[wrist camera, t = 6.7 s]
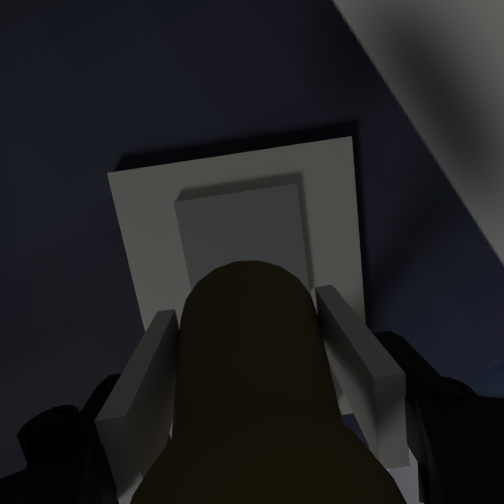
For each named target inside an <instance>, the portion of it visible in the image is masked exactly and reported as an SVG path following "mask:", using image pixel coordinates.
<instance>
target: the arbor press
mask: <svg viewBox="0 0 504 504" xmlns="http://www.w3.org/2000/svg"><path fill="white" fill-rule="evenodd" d="M107 175H108V179H109V183H110V187H111V191H112V196H113V200H114V204H115V208H116V212H117V216H118V221H119V225H120V229H121V233H122V237H123V241H124V245H125V250H126V254H127V258H128V262H129V266H130V270H131V274H132V279H133V283H134V287H135V291H136V295H137V299H138V304H139V308H140V312H141V316H142V320H143V324H144V328H145V332H146V331H147V329H148V327H149V325H150V324H151V322H152V320H153V318H154V317H155V315H156V313H157V311H164V310H170V309H175V311H176V315H177V320H178V325H179V329H180V320H181V316H182V312H183V308H184V304H185V301H186V299H187V297H188V296H189V294H190V293H191V291H192V290H193V288H194V287H195V285H196V284H197V282H198V281H200V280H201V279H202V278H204V277H205V276H206V275H207V274H209V273H210V272H211V271H213V270H214V269H215V268H218V267H221V266H224V265H227V264H229V263H232V262H235V261H251V260H260V261H263V262H267V263H271V264H274V265H278V266H281V267H282V268H284V269H285V270H287V271H288V272H290V273H291V274H293V275H294V276H296V277H298V279H299V280H300V281H301V282H302V284H303V285H304V286H305V287H306V289H307V290H308V291H309V293H310V294H311V297H312V299H313V302H314V305H315V308H316V311H317V304H316V295H315V287H320V286H326V285H333V286H334V287H335V289H336V290H337V291H338V292H339V294H340V295H341V296H342V297H343V298H344V300H345V301H346V302H347V303H348V304H349V306H350V307H351V308H352V309H353V310H354V312H355V313H356V314H357V315H358V317H359V318H360V319H361V320H362V321H363V323H364V324H365V325H366V322H365V308H364V295H363V281H362V267H361V254H360V240H359V227H358V213H357V200H356V186H355V173H354V159H353V146H352V136H349V137H343V138H336V139H330V140H323V141H316V142H310V143H303V144H296V145H290V146H283V147H276V148H270V149H263V150H257V151H250V152H243V153H237V154H230V155H223V156H217V157H210V158H204V159H197V160H190V161H184V162H177V163H170V164H164V165H157V166H151V167H144V168H137V169H131V170H124V171H117V172H111V173H107ZM317 315H318V313H317ZM328 361H329V360H328ZM329 366H330V370H331V374H332V378H333V383H334V387H335V391H336V395H337V400H338V404H339V408H340V412H341V417H342V421H343V425H344V418H343V416H342V415H344V414H351V413H353V411H352V409H351V407H350V405H349V402H348V400H347V398H346V396H345V394H344V392H343V390H342V388H341V386H340V384H339V381H338V379H337V377H336V375H335V373H334V371H333V369H332V367H331V365H330V362H329ZM172 425H173V422H172ZM172 425H171V429H170V436H171V438H172Z"/></svg>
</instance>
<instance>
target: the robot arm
mask: <svg viewBox="0 0 504 504" xmlns="http://www.w3.org/2000/svg"><path fill="white" fill-rule="evenodd" d="M315 295H316V304H317V313H318V319H319V323H320V327H321V332H322V336H323V340H324V344H325V349H326V353H327V357H328V360H329V362H330V365H331V367H332V369H333V371H334V373H335V375H336V377H337V379H338V381H339V384H340V386H341V388H342V390H343V392H344V394H345V396H346V398H347V400H348V402H349V405H350V407H351V409H352V411H353V413H354V415H355V417H356V419H357V421H358V423H359V426H360V428H361V430H362V432H363V434H364V436H365V438H366V440H367V442H368V445H369V447H370V449H371V451H372V453H373V455H374V456H375V457H376V458H377V459H378V461H379V462H380V463H381V464H382V465H383V467H384V468H385V469H390V468H397V467H403V466H409V448H410V450H411V452H412V453H413V455H414V457H415V458H416V460H417V461H418V480H419V502H422V503H424V504H504V398H494V397H484V396H477V395H476V393H475V392H474V391H473V390H472V389H471V388H470V387H469V386H468V385H466V384H464V383H463V382H461V381H458V380H455V379H452V378H449V377H441V376H440V375H439V374H438V373H437V371H436V370H435V369H434V368H433V367H432V366H431V365H430V364H429V363H428V362H427V361H426V360H425V359H424V358H423V357H422V356H421V355H420V354H418V352H417V351H416V350H415V349H414V348H413V347H411V345H410V344H409V343H408V342H407V341H406V340H405V339H404V338H403V337H401V336H399V335H397V334H395V333H393V332H391V331H386V332H380V333H372V332H371V331H370V330H369V329H368V327H367V326H366V325H365V324H364V323H363V321H362V320H361V319H360V318H359V317H358V315H357V314H356V313H355V312H354V310H353V309H352V308H351V307H350V306H349V304H348V303H347V302H346V301H345V300H344V298H343V297H342V296H341V295H340V294H339V292H338V291H337V290H336V289H335V287H334V286H333V285H326V286H320V287H315ZM179 333H180V329H179V325H178V320H177V315H176V311H175V309H170V310H164V311H157V313H156V315H155V317H154V318H153V320H152V322H151V324H150V325H149V327H148V329H147V331H146V332H145V334H144V336H143V338H142V339H141V341H140V343H139V345H138V346H137V348H136V350H135V351H134V353H133V355H132V357H131V358H130V360H129V362H128V364H127V365H126V367H125V369H124V371H123V372H122V374H115V375H109V376H108V377H107V378H106V379H105V380H104V381H102V382H101V383H100V384H99V385H98V386H97V387H96V389H95V390H94V392H93V393H92V395H91V398H89V399H88V401H87V402H86V404H85V407H84V408H83V409H82V410H81V412H80V413H79V410H78V408H76V407H75V406H73V405H63V406H58V407H54V408H52V409H49V410H47V411H44V412H42V413H40V414H39V415H37V416H35V417H34V418H32V419H31V420H29V421H28V422H27V423H26V424H25V425H24V426H22V428H21V429H20V431H19V432H18V433H17V437H18V440H19V443H20V445H21V448H22V451H23V453H24V456H25V459H26V462H27V467H26V469H25V470H22V471H20V472H17V473H15V474H12V475H10V476H7V477H4V478H2V479H0V504H112V503H113V500H114V497H115V495H117V498H118V501H119V504H130V502H131V499H132V496H133V494H134V492H135V491H136V489H137V488H138V486H139V484H140V483H141V481H142V480H143V478H144V477H145V475H146V473H147V472H148V470H149V469H150V467H151V466H152V465H153V463H154V462H155V460H156V459H157V458H158V456H159V455H160V454H161V452H162V451H163V449H164V448H165V447H166V444H167V441H168V437H169V433H170V429H171V425H172V422H173V412H174V399H175V386H176V373H177V360H178V346H179Z"/></svg>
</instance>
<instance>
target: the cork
mask: <svg viewBox="0 0 504 504" xmlns="http://www.w3.org/2000/svg"><path fill="white" fill-rule="evenodd" d="M130 504H407V503H406V501H405V499H404V498H403V496H402V494H401V492H400V490H399V488H398V486H397V484H396V482H395V481H394V479H393V478H392V476H391V475H390V474H389V472H388V471H387V470H386V469H385V468H384V467H383V465H382V464H381V463H380V462H379V461H378V459H377V458H376V457H375V456H374V455H373V453H372V452H371V451H370V450H369V449H368V448H367V446H366V445H365V444H364V443H363V442H362V441H361V440H360V439H359V437H358V436H357V435H356V434H355V433H354V432H353V431H352V430H351V429H350V428H348V427H347V426H345V425H343V421H342V417H341V412H340V408H339V404H338V400H337V395H336V391H335V387H334V383H333V378H332V374H331V370H330V366H329V361H328V357H327V353H326V349H325V344H324V340H323V336H322V332H321V327H320V323H319V319H318V315H317V311H316V308H315V305H314V302H313V299H312V297H311V294H310V293H309V291H308V290H307V289H306V287H305V286H304V285H303V284H302V282H301V281H300V280H299V279H298V277H296V276H294V275H293V274H291V273H290V272H288V271H287V270H285V269H284V268H282V267H281V266H278V265H274V264H271V263H267V262H263V261H260V260H251V261H235V262H232V263H229V264H227V265H224V266H221V267H218V268H215V269H214V270H213V271H211V272H210V273H209V274H207V275H206V276H205V277H204V278H202V279H201V280H200V281H198V282H197V284H196V285H195V287H194V288H193V290H192V291H191V293H190V294H189V296H188V297H187V299H186V301H185V304H184V308H183V312H182V316H181V320H180V333H179V346H178V360H177V373H176V386H175V399H174V412H173V425H172V438H171V440H170V441H169V442H168V444H167V445H166V447H165V448H164V449H163V451H162V452H161V454H160V455H159V456H158V458H157V459H156V460H155V462H154V463H153V465H152V466H151V467H150V469H149V470H148V472H147V473H146V475H145V477H144V478H143V480H142V481H141V483H140V484H139V486H138V488H137V489H136V491H135V492H134V494H133V496H132V499H131V502H130Z"/></svg>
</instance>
